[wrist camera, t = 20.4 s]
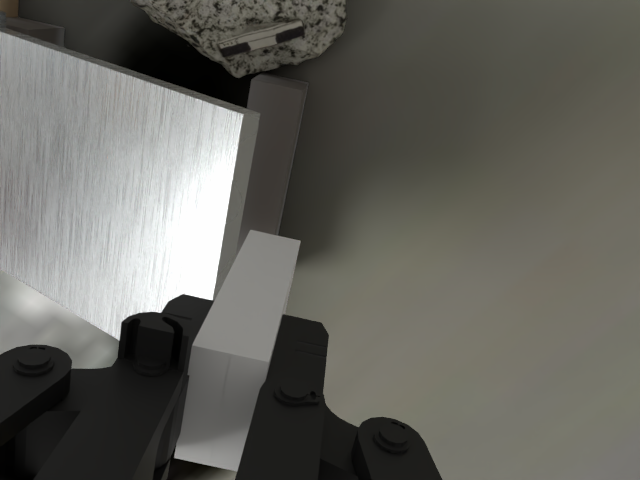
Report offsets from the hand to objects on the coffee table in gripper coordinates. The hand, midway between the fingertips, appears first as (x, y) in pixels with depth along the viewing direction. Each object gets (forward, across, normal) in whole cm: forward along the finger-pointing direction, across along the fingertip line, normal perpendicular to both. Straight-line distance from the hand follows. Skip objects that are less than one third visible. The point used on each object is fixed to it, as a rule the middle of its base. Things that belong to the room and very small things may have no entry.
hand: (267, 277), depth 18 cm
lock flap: (+6, -12, 0) cm, 13 cm away
